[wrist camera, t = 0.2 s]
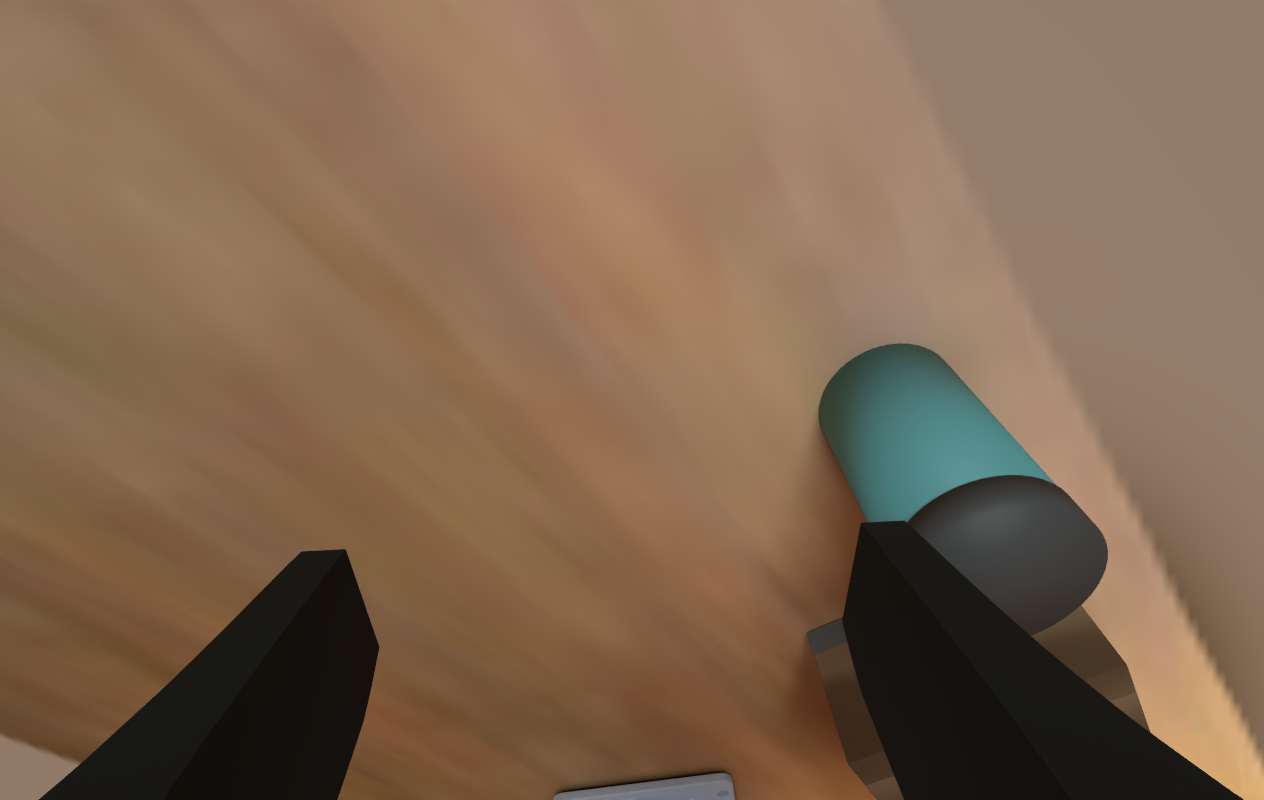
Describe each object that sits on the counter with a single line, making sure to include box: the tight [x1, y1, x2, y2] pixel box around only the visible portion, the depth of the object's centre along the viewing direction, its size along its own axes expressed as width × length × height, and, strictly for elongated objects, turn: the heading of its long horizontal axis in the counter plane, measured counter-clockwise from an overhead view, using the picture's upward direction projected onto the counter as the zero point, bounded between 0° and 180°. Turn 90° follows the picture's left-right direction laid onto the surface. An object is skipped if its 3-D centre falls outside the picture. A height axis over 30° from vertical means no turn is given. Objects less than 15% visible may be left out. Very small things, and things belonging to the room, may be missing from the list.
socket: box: [807, 605, 1150, 800], centre depth 24 cm, size 8×8×5 cm
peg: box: [819, 344, 1108, 636], centre depth 17 cm, size 4×4×7 cm
